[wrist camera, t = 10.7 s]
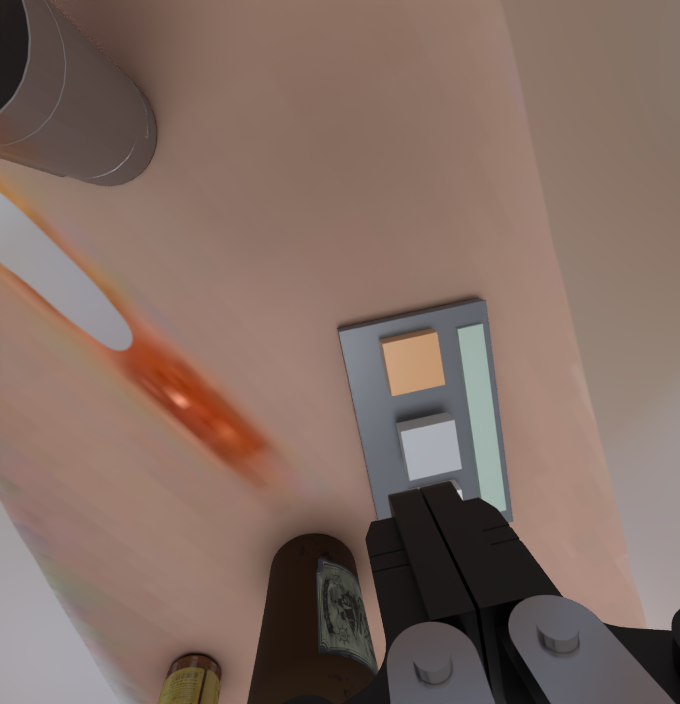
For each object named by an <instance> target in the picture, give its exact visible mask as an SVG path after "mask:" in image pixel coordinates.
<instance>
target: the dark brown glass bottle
mask: <svg viewBox="0 0 680 704" xmlns="http://www.w3.org/2000/svg"><path fill="white" fill-rule="evenodd" d="M378 671H379V670H378V666H377V662H376V658H375V653H374V649H373V644H372V640H371V636H370V631H369V626H368V622H367V617H366V613H365V608H364V604H363V599H362V594H361V589H360V585H359V580H358V575H357V569H356V565H355V561H354V558H353V556H352V554H351V552H350V551H349V549H348V548H347V547H346V546H345V545H344V544H343V543H341V542H340V541H338V540H336V539H334V538H332V537H329V536H325V535H318V534H313V535H305V536H301V537H298V538H296V539H293V540H292V541H290V542H288V543H287V544H286V545H284V546H283V547H282V548H281V549H280V550H279V551H278V553H277V554H276V556H275V558H274V560H273V563H272V566H271V571H270V577H269V584H268V590H267V597H266V603H265V609H264V615H263V620H262V626H261V632H260V637H259V643H258V649H257V654H256V659H255V665H254V670H253V675H252V681H251V686H250V691H249V697H248V702H247V704H281V703H283V702H285V701H287V700H289V699H291V698H294V697H296V696H301V695H317V696H321V697H324V698H326V699H328V700H330V701H331V702H333V703H334V704H342V703H343V702H345V701H346V700H348V699H349V698H351V697H353V696H354V695H356V694H357V693H359V692H360V691H361V690H363V689H364V688H365V687H366V686H367V685H368V684H369V683H370V682H371V681H372V680H373V679H374V677H375V676H376V675H377V673H378Z"/></svg>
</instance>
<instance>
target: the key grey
mask: <svg viewBox="0 0 680 704" xmlns="http://www.w3.org/2000/svg"><path fill="white" fill-rule="evenodd" d="M396 425H397V430H398V436H399V441H400V446H401V452H402V457H403V462H404V468H405V471H406V473H407V476H408V478H409V480H410V481H411V480H415V479H419V478H424V477H428V476H433V475H437V474H441V473H446V472H450V471H455V470H459V469H462V466H461V460H460V453H459V446H458V440H457V433H456V427H455V420H454V419H453V418H452V416H451V415H450V414H449V413H448V412H445V413H440V414H436V415H431V416H427V417H422V418H418V419H413V420H409V421H404V422H400V423H396Z"/></svg>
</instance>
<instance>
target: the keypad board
mask: <svg viewBox="0 0 680 704" xmlns="http://www.w3.org/2000/svg"><path fill="white" fill-rule="evenodd" d="M430 328H431V329H433V330H434V331H436V332H437V334H438V341H439V347H440V354H441V360H442V367H443V373H444V380H445V385H441V386H437V387H432V388H428V389H423V390H419V391H414V392H410V393H405V394H401V395H396V396H392V395H391V394H390V392H389V390H388V386H387V381H386V375H385V370H384V365H383V359H382V354H381V349H380V344H379V340H380V339H384V338H389V337H394V336H398V335H403V334H407V333H412V332H416V331H421V330H426V329H430ZM337 329H338V334H339V339H340V343H341V348H342V353H343V358H344V362H345V367H346V372H347V377H348V381H349V386H350V391H351V396H352V400H353V405H354V410H355V415H356V419H357V424H358V429H359V434H360V438H361V443H362V448H363V453H364V457H365V462H366V467H367V472H368V476H369V481H370V486H371V491H372V495H373V500H374V505H375V510H376V514H377V519H378V520H382V519H386V518H391V517H392V516H391V511H390V506H389V501H388V495H389V494H394V493H398V492H402V491H407V490H409V489H413V488H417V487H422V486H426V485H430V484H435V483H439V482H444V481H448V480H452V479H455V481H456V482H457V484H458V485H459V487H460V488H461V490H462V497H463V501H464V500H469V499H473V498H477V497H479V498H481V499H482V500H484V501H486V502H487V503H489V504H491V505H492V506H494V507H496V508H497V509H498V510H499V511H500V513H501V514H502V516H503V517H504V518H505V520H506V521H507V522H513V516H512V508H511V500H510V492H509V484H508V476H507V468H506V459H505V451H504V443H503V435H502V427H501V419H500V411H499V403H498V395H497V387H496V378H495V370H494V362H493V354H492V346H491V338H490V330H489V322H488V314H487V305H486V300H483V299H479V298H476V299H471V300H466V301H462V302H457V303H453V304H448V305H443V306H439V307H434V308H429V309H425V310H420V311H416V312H411V313H406V314H402V315H397V316H393V317H388V318H383V319H379V320H374V321H370V322H365V323H360V324H356V325H351V326H346V327H342V328H337ZM445 412H448V413H449V414H450V415H451V416H452V418H453V419H454V420H455V427H456V433H457V440H458V446H459V453H460V460H461V466H462V469H459V470H455V471H450V472H446V473H441V474H437V475H433V476H428V477H424V478H419V479H415V480H411V481H410V480H409V478H408V476H407V473H406V471H405V468H404V462H403V457H402V452H401V446H400V441H399V436H398V430H397V425H396V423H400V422H404V421H409V420H413V419H418V418H422V417H427V416H431V415H436V414H440V413H445Z"/></svg>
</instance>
